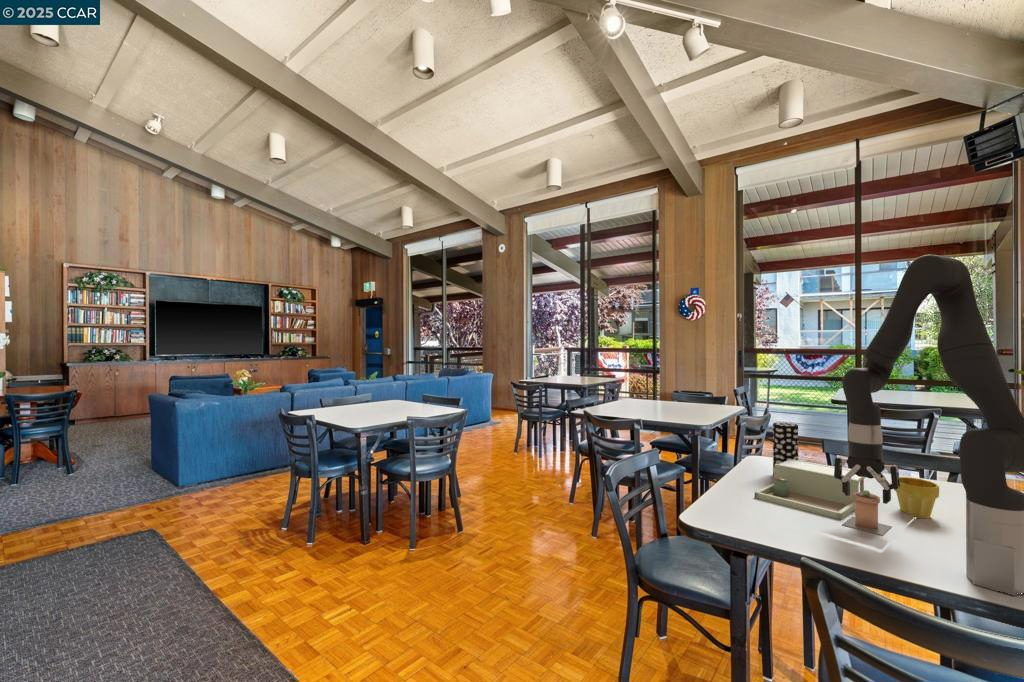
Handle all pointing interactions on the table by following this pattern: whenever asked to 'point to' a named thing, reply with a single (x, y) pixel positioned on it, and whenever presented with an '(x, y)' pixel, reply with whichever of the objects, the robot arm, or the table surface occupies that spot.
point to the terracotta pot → (866, 509)
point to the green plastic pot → (781, 487)
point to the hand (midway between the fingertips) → (866, 499)
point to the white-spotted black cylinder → (784, 442)
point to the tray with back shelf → (813, 489)
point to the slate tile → (879, 531)
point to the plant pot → (917, 496)
